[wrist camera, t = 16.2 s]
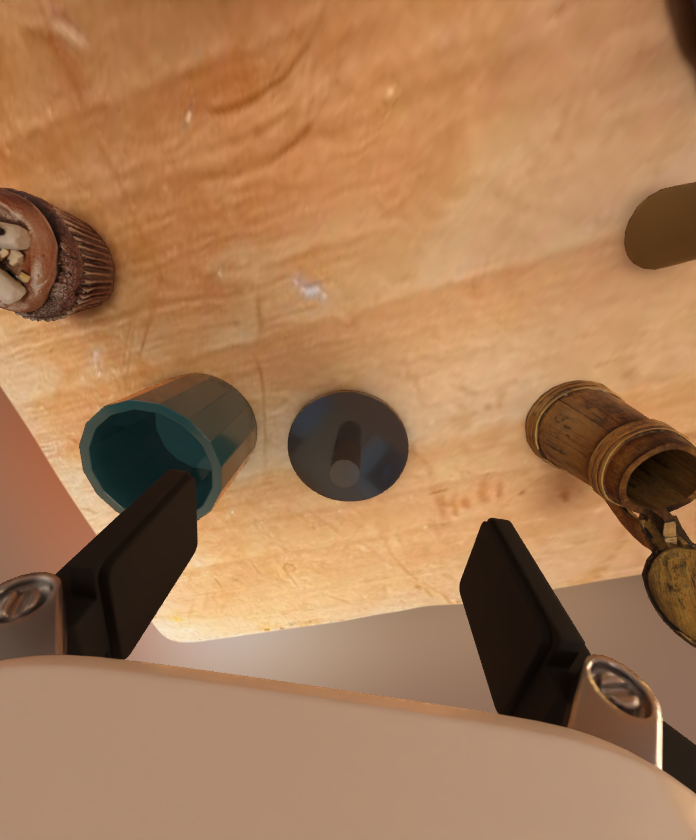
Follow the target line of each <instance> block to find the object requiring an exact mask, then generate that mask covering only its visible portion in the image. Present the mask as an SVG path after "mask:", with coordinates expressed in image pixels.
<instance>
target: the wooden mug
mask: <svg viewBox="0 0 696 840" xmlns="http://www.w3.org/2000/svg"><path fill="white" fill-rule="evenodd" d="M526 434H527V439H528V442H529V445H530V447H531V448H532V450H533V451H534V453H535V454H536V455H537V456H539V457H540V458H541V459H543V460H544V461H545V462H547V463H549V464H550V465H552V466H554V467H556V468H559V469H562V470H564V471H567V472H569V473H570V474H572V475H574V476H575V477H577V478H579V479H580V480H582V481H583V482H585V483H587V484H588V485H590V486H592V488H593V490H594V491H595V492H596V493H597V494H599V495H600V496H601V497H603V498H604V499H605V501H606V502H607V504H608V505H609V507H610V508H611V510H612V511H613V513H614V514H615V515H616V517H617V518H618V519H619V521H620V522H621V524H622V525H623V526H624V527H625V528H626V529H627V530H628V531H629V532H630V533H631V535H632V536H633V537H634V538H635V539H637V540H638V541H639V542H640V543H641V544H642V545H644V546H645V547H647V548H648V549H650V550H651V551H652V554H651V555H650V556H649V557H648V558H647V560H646V563H645V566H644V569H643V572H642V577H643V581H644V585H645V588H646V591H647V594H648V597H649V599H650V601H651V603H652V605H653V606H654V608H655V610H656V611H657V612H658V614H659V615H660V617H661V618H662V619H663V621H664V622H665V623H666V624H667V625H668V626H669V627H670V628H671V629H672V630H673V631H674V632H675V633H676V634H677V635H678V636H680V637H681V638H682V639H683V640H685V641H686V642H688V643H689V644H690V645H691V646H693V647H695V648H696V544H694V543H692V542H691V540H690V539H689V537H688V536H687V534H686V533H685V531H684V530H683V528H682V526H681V524H680V523H679V520H678V518H677V516H672V515H671V514H670V512H671V511H673V510H676V509H678V508H680V507H682V506H684V505H686V504H688V503H690V502H691V501H693V500H694V499H696V446H695V445H694V443H693V442H692V441H691V440H690V439H689V438H688V437H686V436H684V435H683V434H681V433H679V432H678V431H676V430H675V429H673V428H672V427H671V426H669V425H668V424H666V423H664V422H661V421H657V420H654V419H649V418H647V417H646V416H644V415H643V414H641V413H640V412H638V411H637V410H635V409H634V408H632V407H631V406H629V405H628V404H626V403H625V402H624V401H623V399H622V398H621V397H620V396H619V395H617V394H616V393H614V392H612V391H611V390H610V389H608V388H607V387H606V386H604V385H603V384H600V383H595V382H591V381H574V382H569V383H564V384H562V385H560V386H557V387H555V388H553V389H552V390H550V391H549V392H547V393H546V394H545V395H543V396H542V397H541V398H540V399H539V400H538V401H537V402H536V404H535V405H534V406H533V407H532V409H531V411H530V413H529V415H528V417H527V423H526ZM631 510H632V511H633V512H637V513H639V517H637V516H636V515H635V514H634V513H633V512H632V511H631Z"/></svg>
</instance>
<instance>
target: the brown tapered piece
mask: <svg viewBox="0 0 696 840" xmlns="http://www.w3.org/2000/svg"><path fill="white" fill-rule="evenodd" d="M625 248H626V251H627V255H628V256H629V258H630V259H631V260H632V261H633V263H634V264H636V265H638V266H640V267H642V268H645V269H659V268H664V267H668V266H672V265H676V264H680V263H684V262H688V261H692V260H695V259H696V182H694V183H689V184H684V185H678V186H673V187H669V188H665V189H661V190H659V191H658V192H656V193H654V194H652V195H651V196H649V197H648V198H647V199H646V200H645V201H644V202H642V203H641V204H640V205H639V206H638V207H637V209H636V210H635V212H634V214H633V215H632V217H631V218H630V220H629V223H628V226H627V229H626V232H625Z"/></svg>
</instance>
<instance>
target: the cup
mask: <svg viewBox="0 0 696 840" xmlns="http://www.w3.org/2000/svg"><path fill="white" fill-rule="evenodd" d="M256 440H257V425H256V420H255V417H254V414H253V412H252V409H251V407H250V406H249V404H248V402H247V401H246V400H245V398H244V397H243V396H242V395H241V394H240V393H239V392H238V391H237V390H236V389H235V388H233V387H232V386H231V385H229V384H228V383H226V382H225V381H222V380H220V379H218V378H216V377H213V376H209V375H205V374H185V375H181V376H178V377H174V378H171V379H168V380H165V381H163V382H161V383H158V384H156V385H154V386H151V387H149V388H146V389H144V390H142V391H139V392H137V393H134V394H132V395H130V396H127V397H125V398H122V399H120V400H118V401H115V402H113V403H110V404H108V405H106V406H104V407H103V408H102V409H101V410H100V411H99V412H97V413H96V414H95V415H94V416H93V417H92V418H91V419H90V420H89V421H88V422H87V423H86V425H85V428H84V431H83V435H82V438H81V441H80V444H79V448H80V454H81V460H82V466H83V470H84V473H85V475H86V476H87V478H88V480H89V481H90V483H91V485H92V487H93V488H94V490H95V492H96V493H97V495H99V496H100V497H101V498H102V499H103V500H104V501H105V502H106V503H107V504H109V505H110V506H111V507H112V508H113V509H114V510H115V511H116V512H118V513H120V514H121V513H122V512H123V511H124V510H125V509H127V508H128V507H129V506H130V505H131V504H132V503H134V502H135V501H136V500H137V499H138V498H139V497H140V496H141V495H142V494H143V493H144V492H145V491H146V490H147V489H148V488H150V487H151V486H152V485H153V484H154V483H155V482H156V481H157V480H158V479H159V478H160V477H161V476H162V475H163V474H164V473H166V472H167V471H168V470H169V469H175V470H182V471H188V472H190V474H191V477H195V479H196V506H197V520H199V519H200V518H202V517H203V516H204V515H206V514H207V513H209V512H210V511H211V510H212V509H213V508H214V506H215V505H216V503H217V502H218V501H219V499H220V498H221V497H222V495H223V494H224V492H225V491H226V490H227V488H228V487H229V486H230V484H231V483H232V481H233V480H234V479H235V477H236V476H237V475H238V473H239V472H240V471H241V469H242V468H243V466H244V465H245V464H246V462H247V461H248V459H249V457H250V455H251V454H252V452H253V450H254V448H255V444H256Z"/></svg>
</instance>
